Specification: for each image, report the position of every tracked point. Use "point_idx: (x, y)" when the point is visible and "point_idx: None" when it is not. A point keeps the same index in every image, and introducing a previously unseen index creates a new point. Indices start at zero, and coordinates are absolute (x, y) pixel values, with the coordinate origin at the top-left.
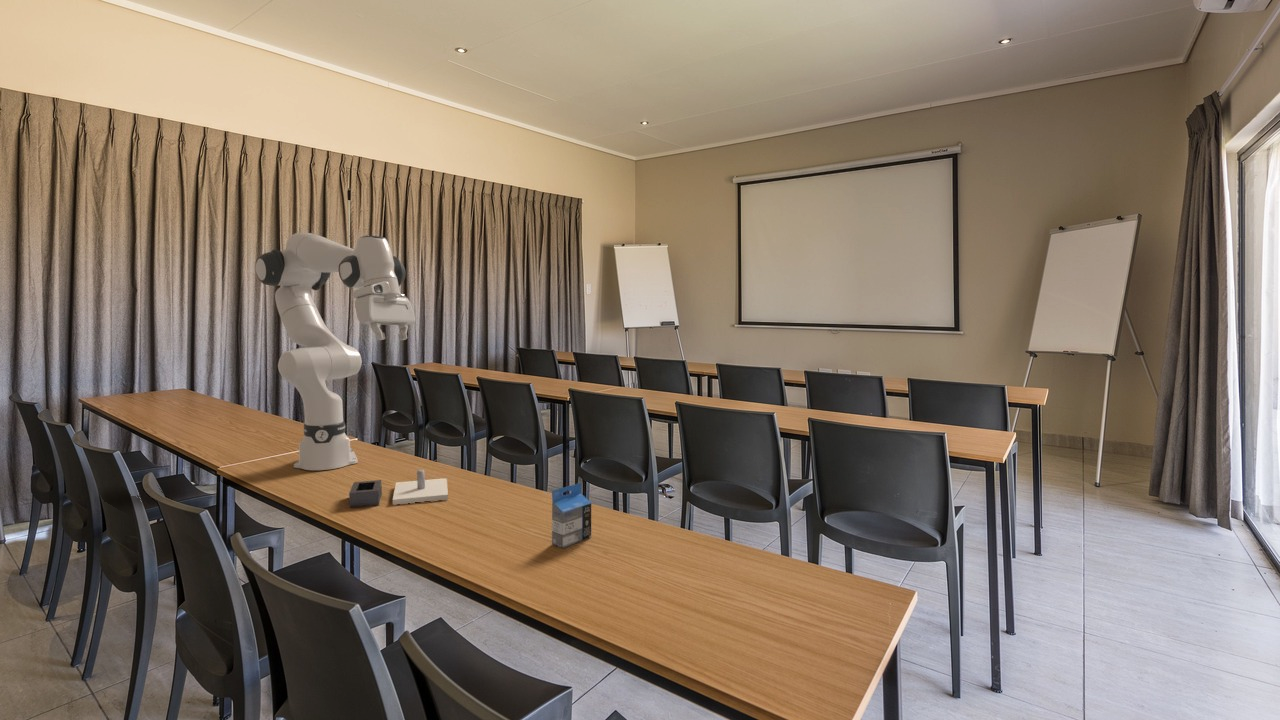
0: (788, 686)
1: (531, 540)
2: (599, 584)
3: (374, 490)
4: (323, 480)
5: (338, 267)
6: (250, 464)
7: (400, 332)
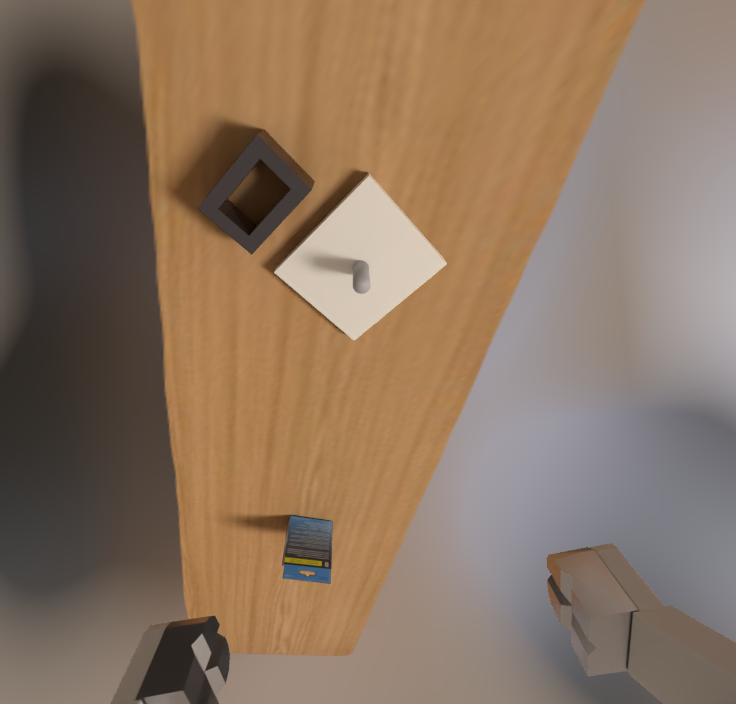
0: None
1: (287, 497)
2: (244, 565)
3: (246, 246)
4: None
5: None
6: None
7: (667, 641)
